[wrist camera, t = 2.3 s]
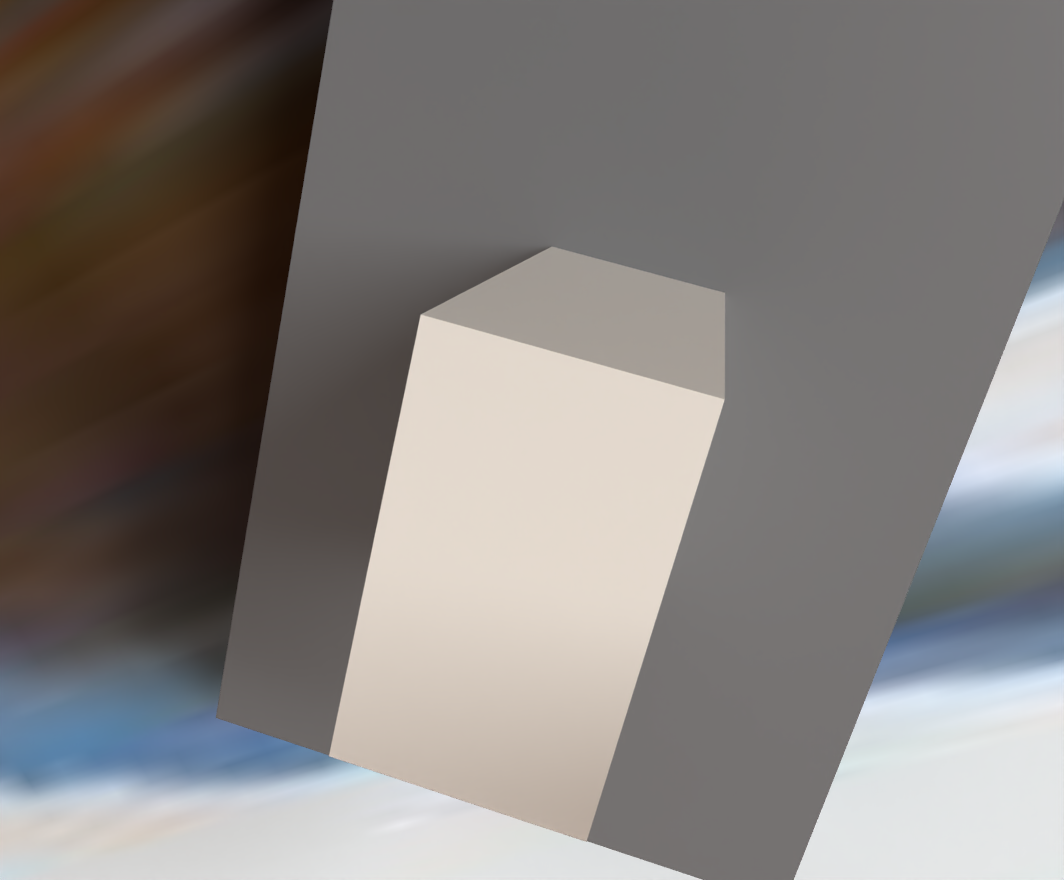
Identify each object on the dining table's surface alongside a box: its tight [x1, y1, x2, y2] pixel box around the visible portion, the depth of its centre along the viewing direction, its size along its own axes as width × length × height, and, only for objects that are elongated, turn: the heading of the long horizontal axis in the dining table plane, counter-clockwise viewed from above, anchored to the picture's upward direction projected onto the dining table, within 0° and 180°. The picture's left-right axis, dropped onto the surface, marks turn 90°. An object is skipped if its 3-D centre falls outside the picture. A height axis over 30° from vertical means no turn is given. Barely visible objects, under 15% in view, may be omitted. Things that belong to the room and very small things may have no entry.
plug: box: [329, 247, 725, 842], centre depth 18 cm, size 6×4×13 cm, turn 166°
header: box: [216, 0, 1064, 880], centre depth 22 cm, size 20×14×4 cm
